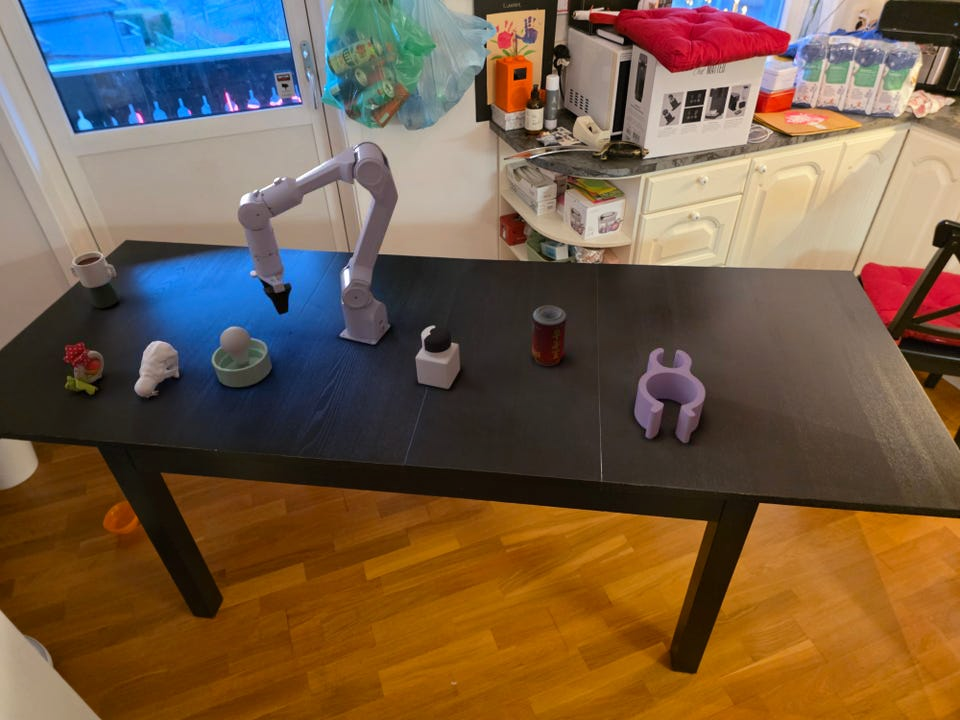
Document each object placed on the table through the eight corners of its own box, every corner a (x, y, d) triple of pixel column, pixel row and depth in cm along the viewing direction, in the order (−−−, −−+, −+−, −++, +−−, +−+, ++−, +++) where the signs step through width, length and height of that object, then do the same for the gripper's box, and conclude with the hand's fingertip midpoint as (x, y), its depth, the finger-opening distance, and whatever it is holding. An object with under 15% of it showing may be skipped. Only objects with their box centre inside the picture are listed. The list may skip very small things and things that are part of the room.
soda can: (547, 344, 150) (550, 299, 142) (570, 358, 146) (573, 313, 138) (524, 356, 147) (525, 311, 139) (546, 372, 142) (549, 326, 135)
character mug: (134, 295, 171) (116, 251, 163) (122, 311, 165) (102, 266, 157) (93, 295, 171) (73, 251, 163) (80, 311, 166) (58, 266, 158)
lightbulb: (251, 380, 142) (238, 339, 135) (225, 377, 143) (211, 336, 136) (263, 362, 146) (252, 322, 140) (238, 359, 147) (225, 319, 141)
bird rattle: (89, 383, 146) (57, 396, 138) (84, 335, 144) (51, 344, 135) (114, 386, 145) (84, 399, 137) (110, 338, 143) (78, 347, 134)
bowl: (282, 361, 147) (278, 344, 144) (251, 394, 139) (245, 376, 136) (240, 351, 151) (234, 333, 148) (206, 382, 143) (200, 364, 139)
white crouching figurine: (174, 338, 141) (143, 377, 132) (188, 366, 146) (159, 406, 138) (147, 335, 142) (115, 374, 133) (162, 363, 148) (132, 403, 139)
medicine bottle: (460, 369, 144) (458, 324, 136) (448, 390, 138) (445, 344, 131) (430, 363, 146) (426, 318, 138) (417, 383, 140) (412, 338, 133)
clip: (635, 371, 142) (639, 345, 137) (695, 377, 140) (701, 351, 135) (633, 436, 126) (638, 410, 122) (701, 444, 124) (708, 418, 120)
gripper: (237, 241, 142) (252, 294, 151) (253, 271, 132) (269, 326, 141) (269, 233, 145) (282, 285, 153) (288, 261, 135) (301, 316, 143)
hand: (278, 304), depth 147 cm, fingers open, 7 cm apart
